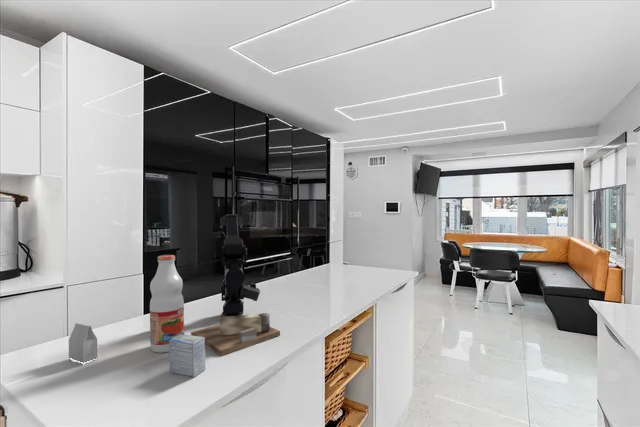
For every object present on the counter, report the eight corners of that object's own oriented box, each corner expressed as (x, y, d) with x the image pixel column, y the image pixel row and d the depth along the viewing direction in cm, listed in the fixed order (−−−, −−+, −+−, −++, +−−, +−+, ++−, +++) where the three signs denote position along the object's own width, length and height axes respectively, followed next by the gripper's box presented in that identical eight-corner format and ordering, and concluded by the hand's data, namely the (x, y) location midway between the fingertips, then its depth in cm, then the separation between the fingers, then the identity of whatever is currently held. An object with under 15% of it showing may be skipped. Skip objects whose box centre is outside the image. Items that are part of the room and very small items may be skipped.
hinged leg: (269, 327, 109) (269, 312, 109) (270, 331, 106) (269, 316, 106) (220, 331, 106) (220, 316, 106) (220, 335, 102) (219, 320, 102)
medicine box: (206, 369, 84) (205, 336, 84) (194, 378, 80) (193, 343, 80) (181, 365, 86) (181, 333, 86) (169, 373, 82) (168, 339, 82)
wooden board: (191, 336, 107) (190, 322, 107) (246, 320, 122) (245, 308, 122) (221, 355, 92) (221, 340, 92) (280, 335, 107) (279, 321, 107)
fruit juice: (166, 339, 105) (165, 253, 105) (190, 342, 102) (189, 254, 102) (143, 351, 96) (141, 257, 96) (168, 355, 93) (167, 258, 93)
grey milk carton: (83, 365, 87) (82, 328, 87) (68, 360, 90) (68, 325, 90) (97, 359, 91) (96, 324, 91) (83, 355, 93) (82, 321, 93)
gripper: (259, 284, 101) (260, 333, 101) (257, 272, 119) (258, 314, 119) (222, 287, 98) (223, 337, 99) (226, 274, 116) (227, 316, 117)
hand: (234, 325), depth 109 cm, fingers closed
